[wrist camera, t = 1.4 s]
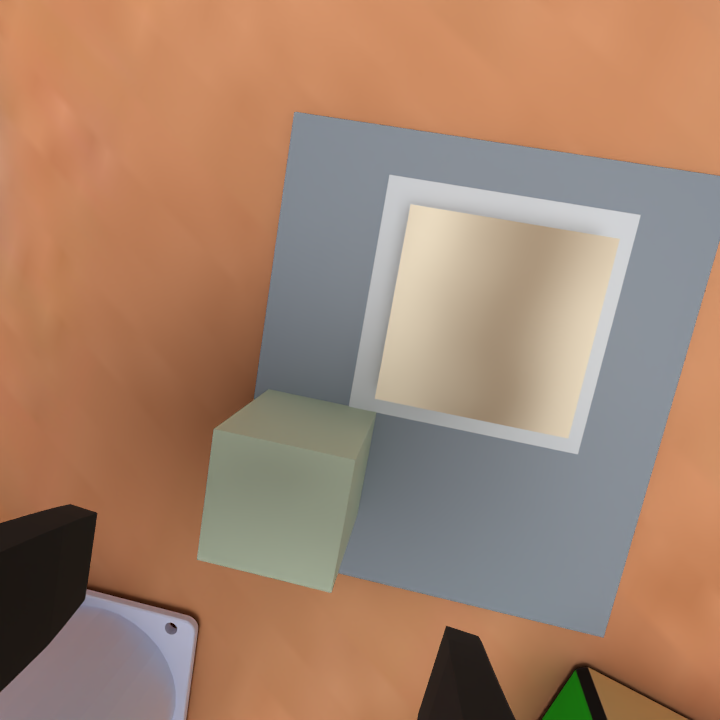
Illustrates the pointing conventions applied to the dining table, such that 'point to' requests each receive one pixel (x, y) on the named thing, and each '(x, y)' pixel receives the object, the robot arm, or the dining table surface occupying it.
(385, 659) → the dining table surface
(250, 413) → the green block
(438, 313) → the base block
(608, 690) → the puzzle cube
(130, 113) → the dining table surface
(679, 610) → the dining table surface
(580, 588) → the building mat
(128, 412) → the dining table surface
